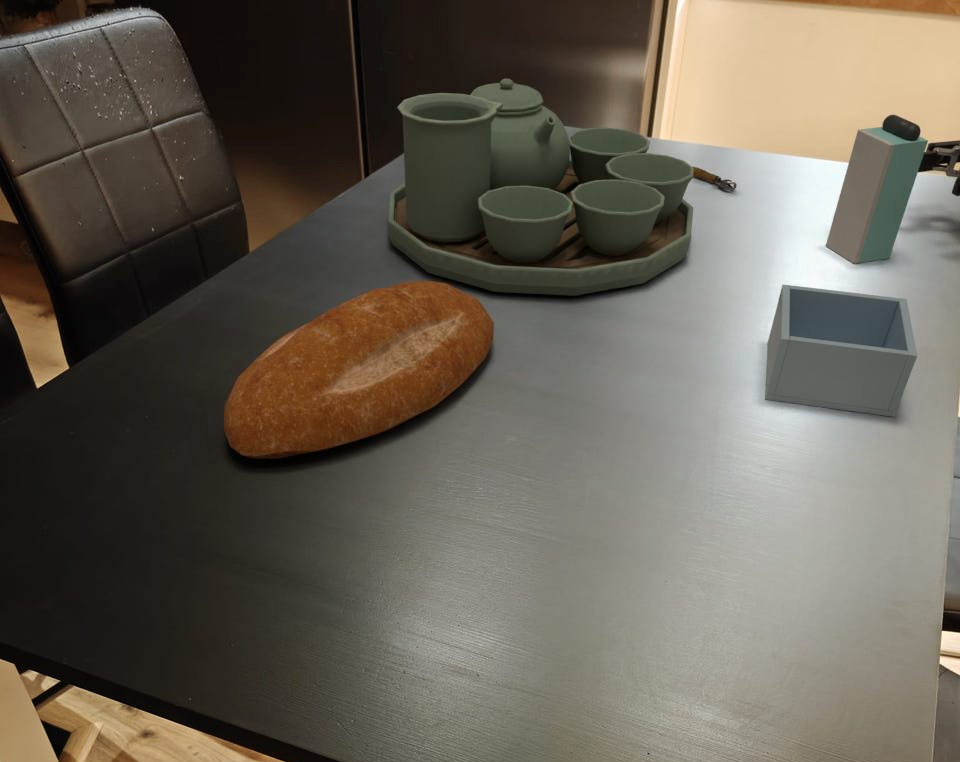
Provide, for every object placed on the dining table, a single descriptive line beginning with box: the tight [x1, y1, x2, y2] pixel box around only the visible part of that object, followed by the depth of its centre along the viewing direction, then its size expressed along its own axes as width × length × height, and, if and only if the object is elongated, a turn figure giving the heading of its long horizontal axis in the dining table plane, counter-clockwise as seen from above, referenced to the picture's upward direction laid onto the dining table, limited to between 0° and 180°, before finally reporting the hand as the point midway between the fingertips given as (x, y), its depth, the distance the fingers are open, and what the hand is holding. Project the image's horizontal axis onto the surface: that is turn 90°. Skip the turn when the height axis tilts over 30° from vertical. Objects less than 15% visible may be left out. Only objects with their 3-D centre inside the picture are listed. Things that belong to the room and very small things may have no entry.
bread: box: [223, 280, 495, 460], centre depth 91 cm, size 18×35×9 cm, turn 142°
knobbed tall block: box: [825, 114, 929, 264], centre depth 116 cm, size 6×6×16 cm
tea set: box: [387, 78, 694, 297], centre depth 118 cm, size 40×40×16 cm
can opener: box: [692, 166, 737, 191], centre depth 138 cm, size 9×2×1 cm, turn 34°
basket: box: [764, 284, 918, 418], centre depth 96 cm, size 13×13×7 cm
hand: (932, 174), depth 118 cm, fingers open, 8 cm apart
